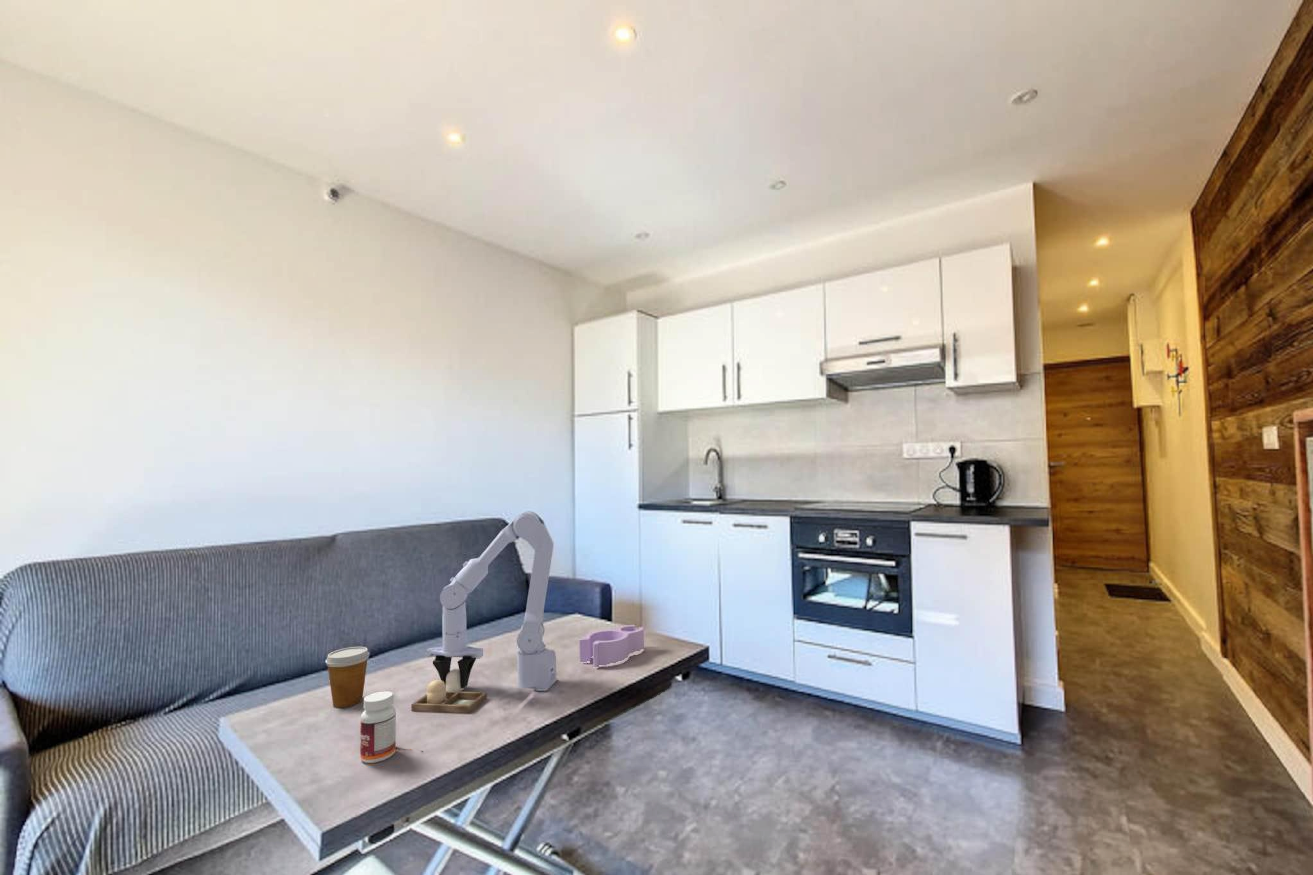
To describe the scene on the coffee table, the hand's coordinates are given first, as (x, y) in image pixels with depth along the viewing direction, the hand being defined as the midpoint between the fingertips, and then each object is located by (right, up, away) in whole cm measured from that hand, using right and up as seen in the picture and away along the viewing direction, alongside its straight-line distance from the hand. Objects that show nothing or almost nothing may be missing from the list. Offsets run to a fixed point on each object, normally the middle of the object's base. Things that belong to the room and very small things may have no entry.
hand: (455, 686), depth 137 cm
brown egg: (-1, 0, -9) cm, 9 cm away
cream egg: (0, -1, 0) cm, 1 cm away
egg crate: (+2, -1, -10) cm, 10 cm away
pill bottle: (-4, 0, -31) cm, 31 cm away
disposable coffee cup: (-25, -2, -4) cm, 25 cm away
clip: (+38, -2, +22) cm, 44 cm away
